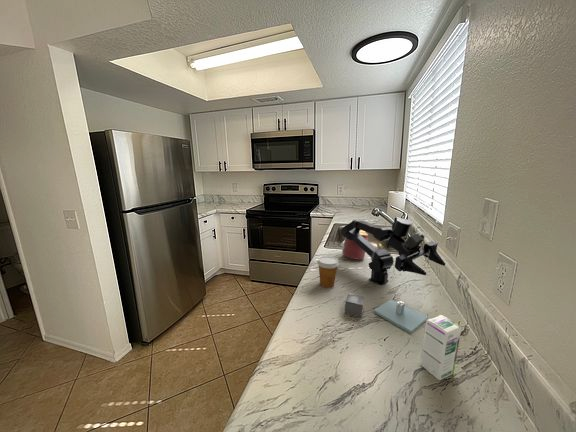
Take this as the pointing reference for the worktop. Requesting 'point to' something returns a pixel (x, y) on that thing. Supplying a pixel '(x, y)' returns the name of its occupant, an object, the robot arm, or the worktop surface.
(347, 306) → the grey block
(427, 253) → the robot arm
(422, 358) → the syrup box
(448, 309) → the worktop surface
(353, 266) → the worktop surface
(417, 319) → the plate
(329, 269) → the disposable coffee cup
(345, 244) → the canister
